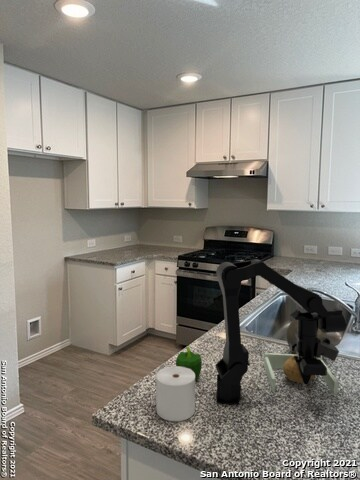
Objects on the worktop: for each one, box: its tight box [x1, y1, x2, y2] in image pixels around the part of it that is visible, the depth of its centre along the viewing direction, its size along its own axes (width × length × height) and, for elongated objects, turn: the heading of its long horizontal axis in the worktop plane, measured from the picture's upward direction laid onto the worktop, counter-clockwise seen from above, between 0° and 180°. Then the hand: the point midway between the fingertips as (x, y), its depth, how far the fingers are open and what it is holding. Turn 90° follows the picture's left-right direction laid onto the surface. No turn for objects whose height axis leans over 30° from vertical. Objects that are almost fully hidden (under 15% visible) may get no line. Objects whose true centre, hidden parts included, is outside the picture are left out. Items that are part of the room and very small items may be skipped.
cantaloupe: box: [286, 318, 328, 354], centre depth 127 cm, size 14×14×15 cm
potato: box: [282, 355, 316, 384], centre depth 110 cm, size 10×14×8 cm
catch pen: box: [263, 352, 339, 396], centre depth 110 cm, size 19×16×5 cm
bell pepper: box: [175, 346, 203, 382], centre depth 110 cm, size 8×8×10 cm
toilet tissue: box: [155, 362, 196, 422], centre depth 94 cm, size 11×12×10 cm
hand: (305, 384), depth 102 cm, fingers closed
